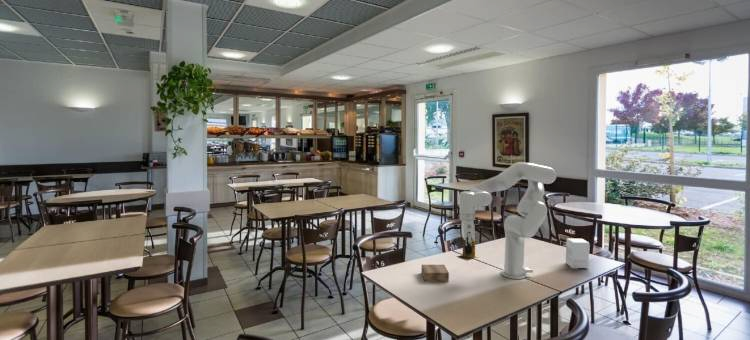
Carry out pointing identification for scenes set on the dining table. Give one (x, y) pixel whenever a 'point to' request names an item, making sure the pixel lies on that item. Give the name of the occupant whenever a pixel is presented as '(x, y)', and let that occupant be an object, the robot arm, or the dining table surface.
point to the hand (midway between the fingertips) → (467, 251)
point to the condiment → (468, 256)
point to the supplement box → (577, 253)
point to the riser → (435, 273)
